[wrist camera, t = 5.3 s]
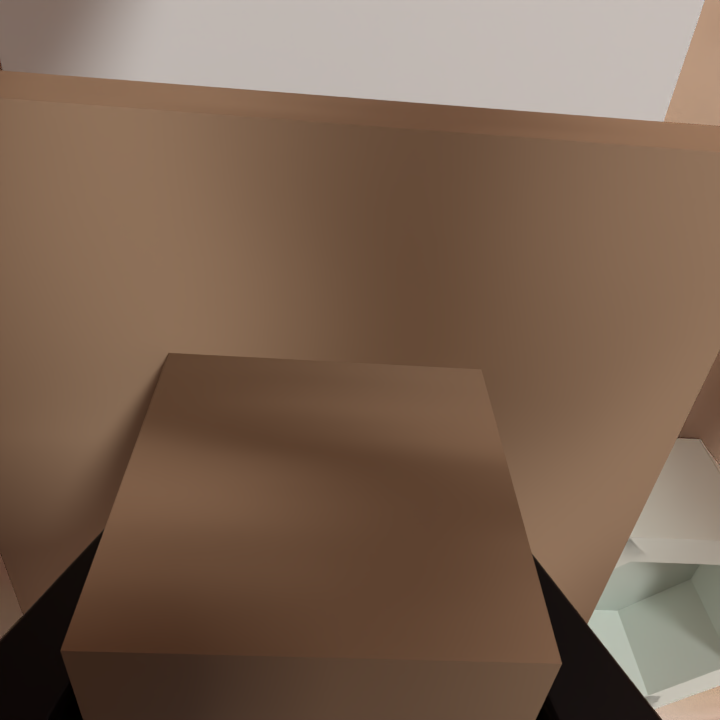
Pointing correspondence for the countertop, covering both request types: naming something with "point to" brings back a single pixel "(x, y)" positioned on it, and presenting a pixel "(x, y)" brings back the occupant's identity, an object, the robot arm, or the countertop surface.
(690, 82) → the countertop surface
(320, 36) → the mat
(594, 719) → the robot arm
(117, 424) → the lid
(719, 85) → the countertop surface
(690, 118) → the countertop surface
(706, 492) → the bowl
